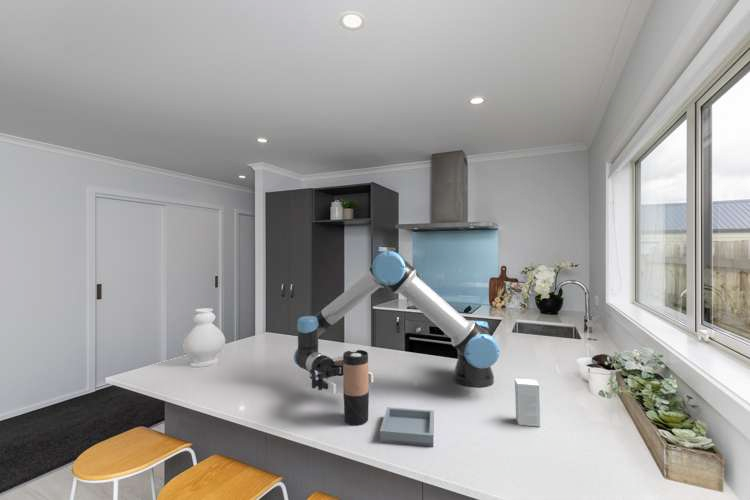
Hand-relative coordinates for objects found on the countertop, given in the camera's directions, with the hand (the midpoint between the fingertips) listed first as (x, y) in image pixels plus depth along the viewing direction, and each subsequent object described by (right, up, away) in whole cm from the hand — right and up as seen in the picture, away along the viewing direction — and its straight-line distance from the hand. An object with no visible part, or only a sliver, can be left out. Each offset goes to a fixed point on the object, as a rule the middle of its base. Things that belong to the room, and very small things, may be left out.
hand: (354, 383), depth 102 cm
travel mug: (+1, -11, 0) cm, 11 cm away
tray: (+16, -11, -7) cm, 20 cm away
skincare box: (+51, -10, -3) cm, 52 cm away
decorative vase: (-73, -13, +56) cm, 93 cm away
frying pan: (-12, -12, +51) cm, 54 cm away
